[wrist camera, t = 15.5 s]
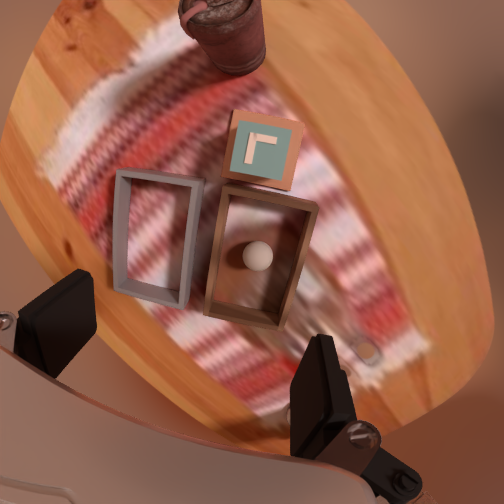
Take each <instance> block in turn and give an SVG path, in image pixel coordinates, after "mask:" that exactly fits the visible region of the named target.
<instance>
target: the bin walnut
mask: <svg viewBox="0 0 504 504" xmlns="http://www.w3.org/2000/svg"><path fill="white" fill-rule="evenodd" d="M231 194H232V195H237V196H242V197H247V198H251V199H256V200H261V201H266V202H270V203H275V204H279V205H284V206H288V207H293V208H297V209H301V210H305V211H307V213H306V217H305V221H304V224H303V228H302V232H301V236H300V240H299V243H298V247H297V251H296V254H295V258H294V262H293V265H292V269H291V272H290V276H289V279H288V283H287V286H286V290H285V293H284V297H283V300H282V303H281V307H280V310H279V313H273V312H268V311H263V310H258V309H253V308H248V307H243V306H239V305H234V304H229V303H225V302H220V301H216V300H213V299H214V292H215V286H216V280H217V273H218V267H219V261H220V255H221V249H222V243H223V237H224V232H225V226H226V220H227V215H228V209H229V204H230V198H231ZM318 211H319V206H318V205H317V203H316V202H314V201H310V200H305V199H301V198H297V197H293V196H288V195H284V194H280V193H275V192H270V191H266V190H261V189H256V188H252V187H247V186H242V185H237V184H231V183H226V184H225V185H223V187H222V193H221V198H220V204H219V210H218V216H217V222H216V228H215V234H214V240H213V247H212V253H211V260H210V266H209V273H208V280H207V287H206V295H205V302H204V310H203V315H205V316H209V317H213V318H218V319H222V320H227V321H231V322H236V323H240V324H245V325H250V326H255V327H260V328H265V329H270V330H276V331H281V332H283V329H284V326H285V323H286V320H287V316H288V313H289V310H290V307H291V304H292V301H293V298H294V294H295V291H296V288H297V285H298V281H299V278H300V275H301V271H302V268H303V265H304V261H305V258H306V254H307V251H308V247H309V244H310V240H311V237H312V233H313V229H314V226H315V222H316V218H317V214H318Z"/></svg>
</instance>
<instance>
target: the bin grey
mask: <svg viewBox="0 0 504 504" xmlns="http://www.w3.org/2000/svg"><path fill="white" fill-rule="evenodd" d="M132 178H139V179H146V180H152V181H159V182H165V183H171V184H177V185H183V186H189V187H192V189H191V196H190V203H189V210H188V218H187V226H186V234H185V242H184V251H183V261H182V271H181V282H180V292H178V291H174V290H170V289H166V288H162V287H159V286H155V285H151V284H147V283H144V282H140V281H136V280H133V279H129V278H127V250H128V222H129V206H130V193H131V182H132ZM205 180H206V179H204V178H198V177H193V176H187V175H180V174H174V173H167V172H161V171H154V170H147V169H139V168H131V167H127V168H121V169H117V170H116V180H115V193H114V210H113V284H114V291H117V292H120V293H123V294H126V295H130V296H133V297H137V298H140V299H143V300H147V301H151V302H154V303H158V304H161V305H165V306H169V307H173V308H177V309H180V310H184V308H185V306H186V304H187V303H188V301H189V299H190V290H191V280H192V272H193V263H194V255H195V247H196V239H197V232H198V225H199V218H200V211H201V205H202V198H203V192H204V186H205Z"/></svg>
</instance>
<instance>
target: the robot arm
mask: <svg viewBox="0 0 504 504" xmlns="http://www.w3.org/2000/svg"><path fill="white" fill-rule="evenodd" d="M18 314H19V318H18V319H16V316H15V315H14V314H13V313H11V312H5V311H3V312H0V504H437V502H436V501H435V500H434V499H433V498H432V497H431V496H430V495H429V494H428V492H426V493H423V492H422V491H421V489H422V479H421V477H420V475H419V474H418V473H417V472H416V471H415V470H413V469H412V468H410V467H409V466H407V465H406V464H404V463H403V462H401V461H400V460H398V459H397V458H395V457H394V456H392V455H391V454H390V453H388V452H387V451H385V450H384V449H382V448H381V447H380V445H381V442H382V440H381V439H382V437H381V434H380V432H379V430H378V429H377V428H376V427H375V426H374V425H373V424H371V423H369V422H367V421H363V420H357V417H356V413H355V408H354V404H353V400H352V396H351V391H350V387H349V383H348V379H347V375H346V373H345V371H344V370H341V369H340V365H339V361H338V356H337V352H336V348H335V345H334V341H333V337H332V336H329V335H324V334H317V336H316V337H315V336H312V337H311V339H310V342H309V344H308V346H307V349H306V351H305V353H304V356H303V358H302V360H301V362H300V365H299V367H298V369H297V371H296V373H295V375H294V378H293V380H292V382H291V385H290V408H289V409H288V411H287V422H288V424H289V425H290V455H291V456H295V457H291V456H285V455H279V454H272V453H265V452H259V451H253V450H248V449H243V448H238V447H233V446H228V445H223V444H219V443H215V442H211V441H206V440H203V439H199V438H195V437H191V436H188V435H184V434H181V433H178V432H175V431H171V430H168V429H165V428H162V427H159V426H156V425H153V424H151V423H148V422H145V421H142V420H140V419H137V418H135V417H132V416H130V415H127V414H124V413H122V412H119V411H117V410H115V409H113V408H111V407H108V406H106V405H104V404H102V403H100V402H97V401H95V400H93V399H91V398H89V397H87V396H85V395H83V394H81V393H79V392H77V391H75V390H74V389H72V388H70V387H68V386H66V385H64V384H63V383H61V382H59V381H57V380H56V379H55V378H57V376H58V375H59V374H60V373H61V372H62V370H63V369H64V368H65V367H66V366H67V365H68V364H69V362H70V361H71V360H72V359H73V358H74V356H75V355H76V354H77V353H78V352H79V351H80V350H81V349H82V347H83V346H84V345H85V344H86V343H87V342H88V341H89V340H90V338H91V337H92V336H93V335H94V334H95V332H96V330H97V323H96V312H95V300H94V284H93V277H91V274H90V273H89V272H87V271H84V270H81V269H76V270H75V271H73V272H72V273H71V274H69V275H68V276H66V277H65V278H63V279H62V280H60V281H59V282H57V283H56V284H55V285H53V286H52V287H50V288H49V289H48V290H46V291H45V292H43V293H42V294H41V295H40V296H38V297H37V298H35V299H34V300H32V301H31V302H30V303H28V304H27V305H26V306H24V307H23V308H22V309H20V310H19V311H18Z"/></svg>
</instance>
